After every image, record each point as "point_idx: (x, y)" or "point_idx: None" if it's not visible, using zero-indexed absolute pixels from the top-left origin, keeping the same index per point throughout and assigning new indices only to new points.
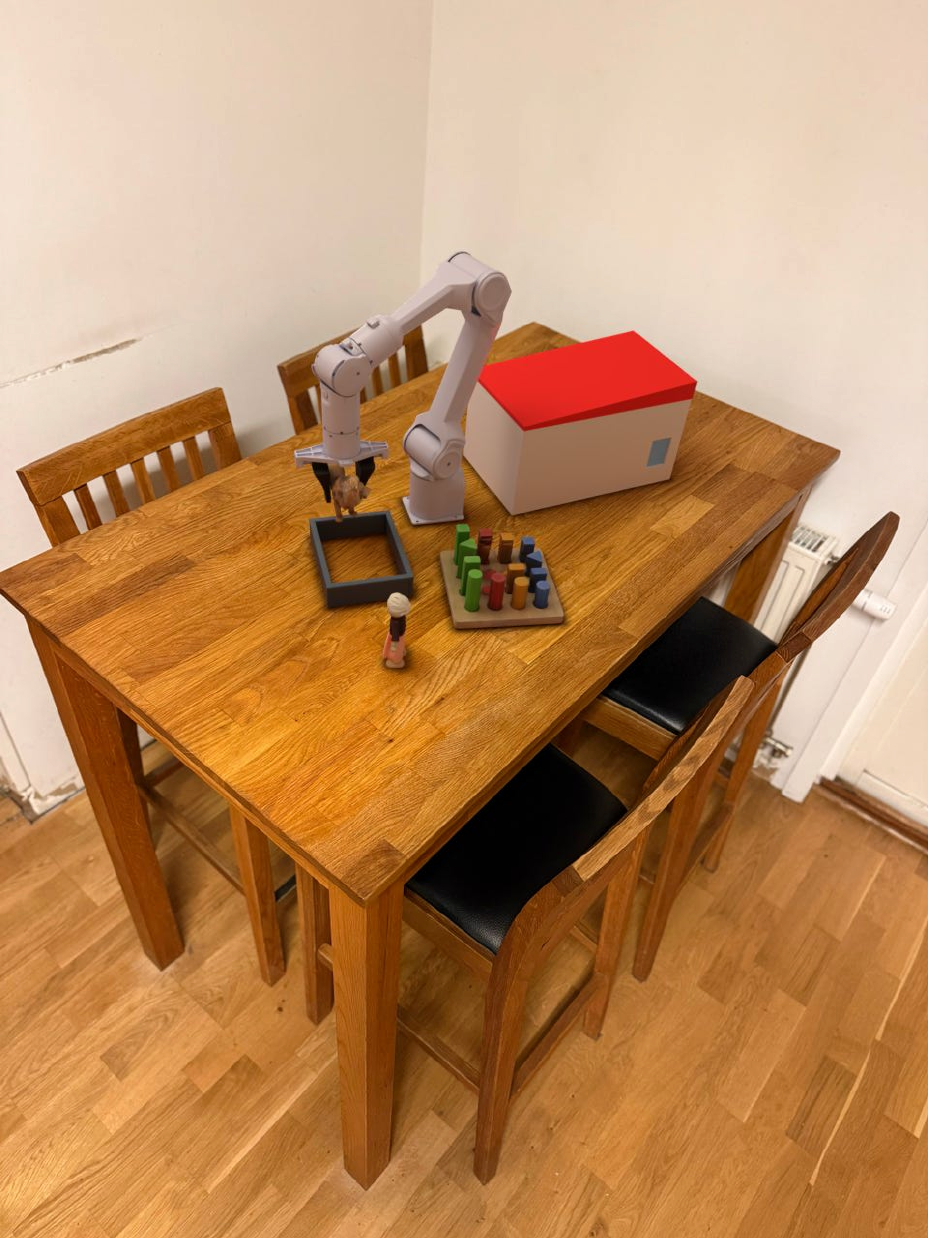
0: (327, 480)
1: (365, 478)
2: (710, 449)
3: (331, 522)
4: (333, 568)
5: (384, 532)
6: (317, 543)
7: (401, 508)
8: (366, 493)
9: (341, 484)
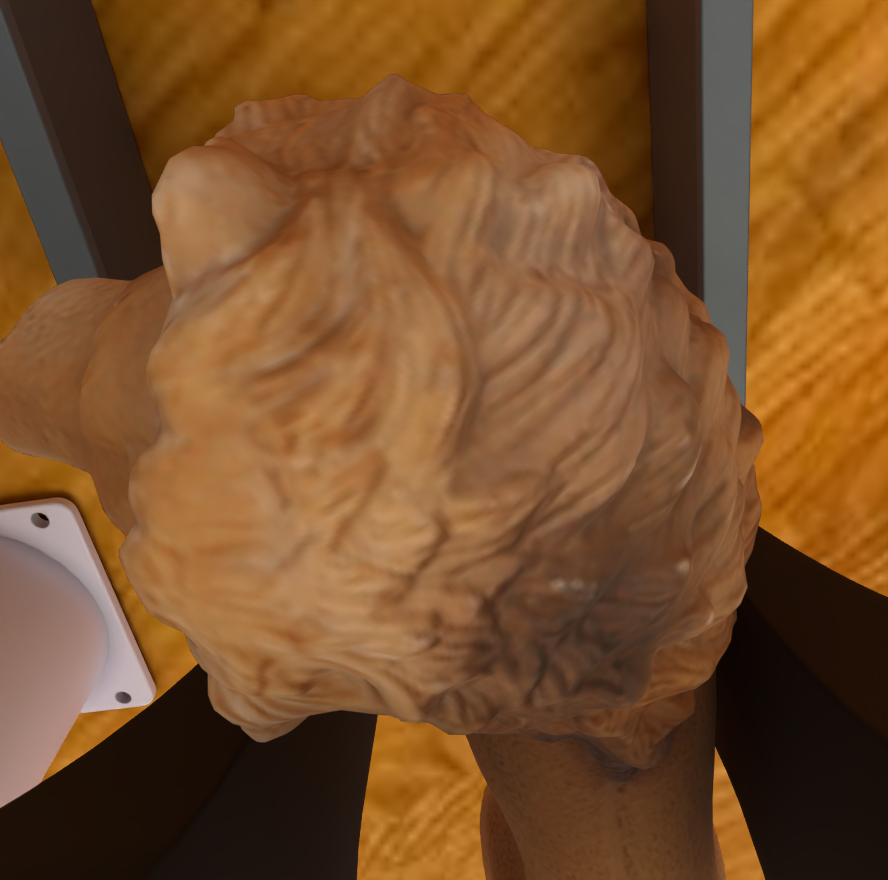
0: (864, 671)
1: (172, 727)
2: None
3: None
4: (573, 81)
5: None
6: (732, 161)
7: (158, 631)
8: (68, 288)
9: (686, 429)
